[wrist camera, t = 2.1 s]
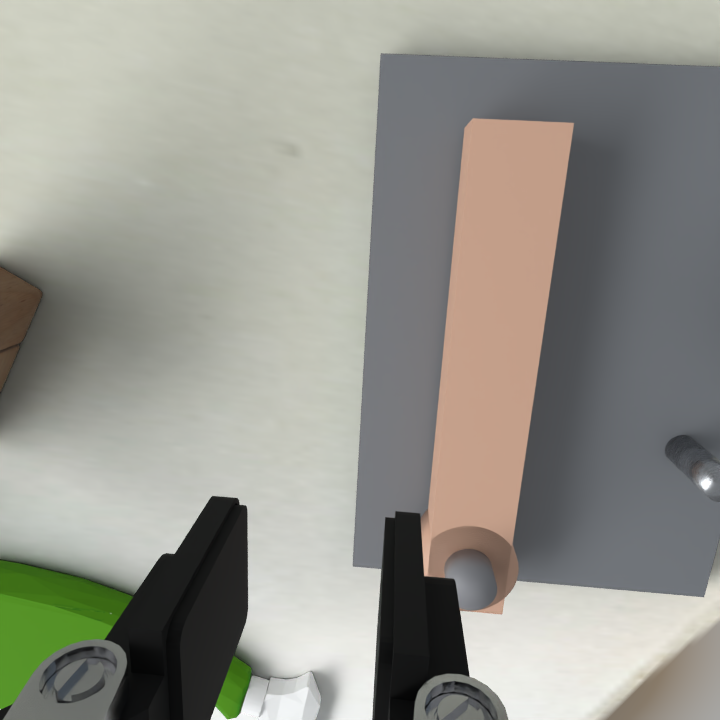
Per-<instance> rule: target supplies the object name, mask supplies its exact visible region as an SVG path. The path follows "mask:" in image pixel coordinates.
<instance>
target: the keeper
mask: <svg viewBox="0 0 720 720" xmlns="http://www.w3.org/2000/svg"><path fill="white" fill-rule="evenodd" d="M665 454H666V457H667V458H668V459H669V460H670V461H671V462H672V463H673V464H674V465H675V466H676V467H677V468H678V469H679V470H680V471H681V472H682V473H683V474H684V475H686V476H687V477H688V478H689V479H690V480H691V481H692V482H693V483H694V484H695V485H696V486H697V487H698V488H699V489H700V490H701V491H702V492H703V493H704V494H705V495H706V496H707V497H708V498H710V499H711V500H713V501H715V502H720V460H719V459H717V458H716V457H715V456H714V455H712V454H711V453H710V452H709V451H707V450H706V449H705V448H704V447H703V446H701V445H700V444H699V443H698V442H696V441H695V440H694V439H693V438H691V437H689V436H686V435H679V436H676V437H674V438H672V439H671V440H670V441H669V442H668V443H667V444H666V447H665Z"/></svg>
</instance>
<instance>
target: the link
mask: <svg viewBox="0 0 720 720" xmlns="http://www.w3.org/2000/svg"><path fill="white" fill-rule="evenodd" d="M573 127H574V123H566V122H543V121H521V120H499V119H476V118H473V119H472V120H471V121H470V122H469V123H468V124H467V126H466V127H465V128H464V138H463V149H462V159H461V170H460V180H459V191H458V201H457V211H456V222H455V232H454V243H453V253H452V264H451V274H450V285H449V295H448V306H447V316H446V326H445V337H444V347H443V358H442V368H441V379H440V389H439V400H438V410H437V421H436V431H435V441H434V452H433V462H432V473H431V483H430V494H429V504H428V509H427V510H426V511H425V513H424V514H423V515H422V517H421V533H422V548H423V564H424V576H429V577H441V578H452V579H454V580H455V582H456V588H457V594H458V601H459V608H460V611H471V612H482V613H493V614H502V612H503V605H504V598H505V597H506V596H507V595H508V594H509V593H510V592H511V590H512V589H513V587H514V585H515V583H516V581H517V577H518V571H519V566H518V560H517V556H516V553H515V550H514V547H513V537H514V530H515V523H516V516H517V509H518V503H519V496H520V489H521V482H522V475H523V468H524V462H525V455H526V448H527V441H528V434H529V427H530V421H531V414H532V407H533V400H534V393H535V386H536V380H537V373H538V366H539V359H540V352H541V345H542V339H543V332H544V325H545V318H546V311H547V304H548V298H549V291H550V284H551V277H552V270H553V263H554V257H555V250H556V243H557V236H558V229H559V222H560V216H561V209H562V202H563V195H564V188H565V181H566V175H567V168H568V161H569V154H570V147H571V140H572V134H573Z"/></svg>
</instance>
